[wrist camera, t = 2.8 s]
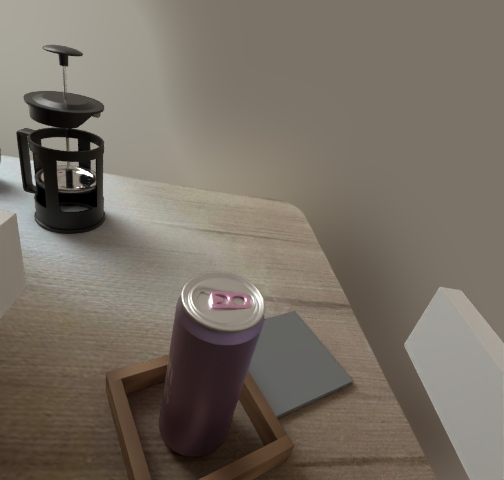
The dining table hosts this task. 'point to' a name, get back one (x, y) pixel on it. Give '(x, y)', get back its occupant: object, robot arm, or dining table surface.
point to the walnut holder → (230, 476)
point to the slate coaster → (293, 365)
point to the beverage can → (208, 360)
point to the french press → (63, 157)
